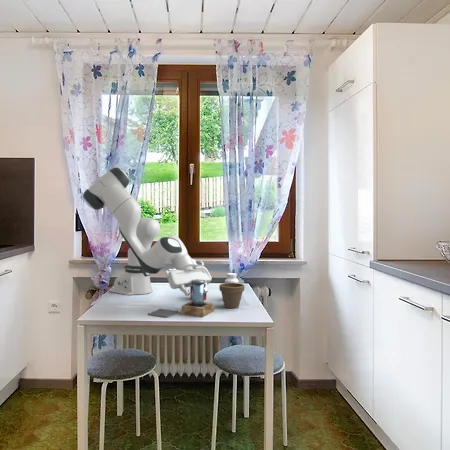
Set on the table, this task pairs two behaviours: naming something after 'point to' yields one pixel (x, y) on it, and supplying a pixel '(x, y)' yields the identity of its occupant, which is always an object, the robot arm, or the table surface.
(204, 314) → the bore block
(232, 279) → the supplement bottle
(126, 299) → the table surface
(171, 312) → the mat
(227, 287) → the flower pot
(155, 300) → the table surface
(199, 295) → the plunger
